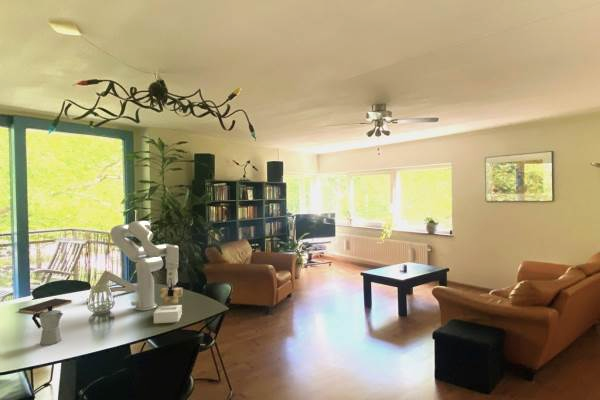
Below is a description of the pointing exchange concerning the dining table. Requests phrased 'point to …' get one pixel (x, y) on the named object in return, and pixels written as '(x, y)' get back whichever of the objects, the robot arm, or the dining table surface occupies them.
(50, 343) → the coffee maker
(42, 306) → the hardcover book
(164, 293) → the tan brown rectangular block
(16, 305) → the dining table surface
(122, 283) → the wall bracket
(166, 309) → the white recessed tray
